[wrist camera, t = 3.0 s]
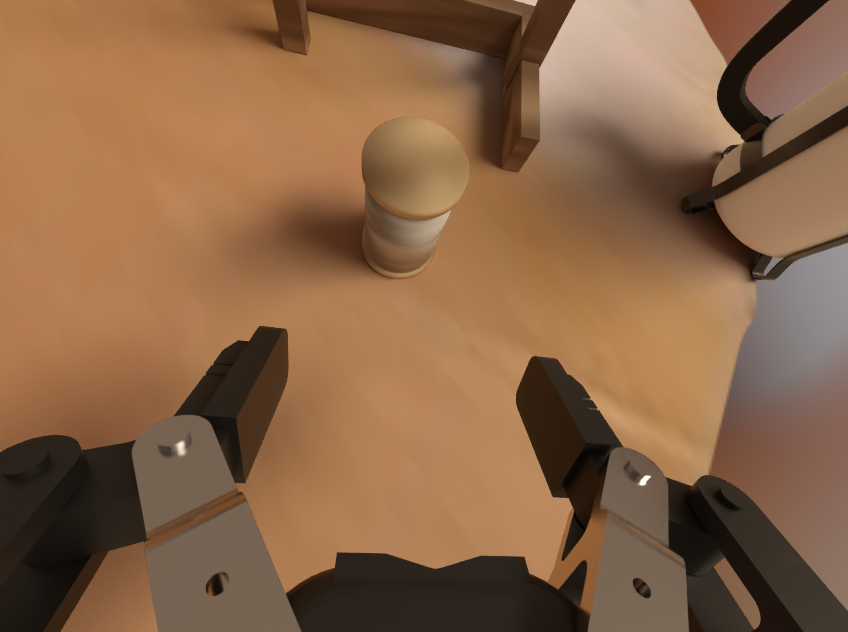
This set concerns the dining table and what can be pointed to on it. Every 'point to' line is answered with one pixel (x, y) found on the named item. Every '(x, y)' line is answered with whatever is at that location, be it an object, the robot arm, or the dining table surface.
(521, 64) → the wooden frame rack
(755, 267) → the coffee press
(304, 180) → the dining table surface
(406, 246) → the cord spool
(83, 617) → the dining table surface
